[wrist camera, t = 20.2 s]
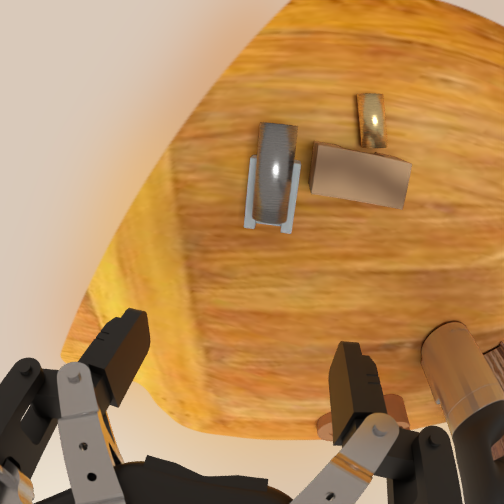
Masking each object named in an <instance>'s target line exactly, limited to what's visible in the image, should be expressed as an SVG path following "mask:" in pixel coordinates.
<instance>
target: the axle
mask: <svg viewBox="0 0 504 504" xmlns="http://www.w3.org/2000/svg"><path fill="white" fill-rule="evenodd" d="M297 130H298V126H292V125H284V124H274V123H262V122H260V129H259V140H258V151H257V162H256V173H255V184H254V195H253V206H252V218H253V219H254V220H256V221H259V222H262V223H268V224H282V223H285V222H287V217H288V209H289V201H290V193H291V184H292V176H293V167H294V158H295V149H296V140H297Z"/></svg>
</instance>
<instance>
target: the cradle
mask: <svg viewBox="0 0 504 504" xmlns="http://www.w3.org/2000/svg"><path fill="white" fill-rule="evenodd" d="M256 162H257V155H253V156H252V157H251V158H250V166H249V177H248V187H247V198H246V209H245V220H244V228H251V229H254V228H255V225H256V223H259V224H267V225H275V226H281V233H289V234H291V231H292V225H293V218H294V211H295V204H296V197H297V190H298V183H299V176H300V168H301V162H300V161H299V160H294V167H293V176H292V184H291V193H290V201H289V209H288V217H287V222H285V223H282V224H268V223H262V222H259V221H256V220H254V219H253V218H252V206H253V195H254V184H255V173H256Z"/></svg>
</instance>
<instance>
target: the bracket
mask: <svg viewBox="0 0 504 504" xmlns="http://www.w3.org/2000/svg"><path fill="white" fill-rule="evenodd" d="M383 396H384V400H385V405H386V409H387V413H388V415H389V416H391V417H392V418H394V419H395V421H396V422H397V424H398V426H399V427H400V428H403V429H406V430H410V429H409V426H410V424H409V421H408V417H407V413H406V409H405V406H404V402H403V399H402V397H401V396H399V395H395V394H389V395H383ZM317 433H318V436H319V437H320V438H321V439H323V440H326V441H333V432H332V417H331V412H329V413H327V414H325V415H323V416H322V417H320V418H319V420H318V422H317Z"/></svg>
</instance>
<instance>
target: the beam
mask: <svg viewBox="0 0 504 504" xmlns="http://www.w3.org/2000/svg"><path fill="white" fill-rule="evenodd" d="M411 167H412V164H411V163H409V162H406V161H404V160H402V159H399V158H397V157H393V156H389V155H385V154H380V153H376V152H375V155H374V154H369V153H364V152H359V151H354V150H349V149H344V148H342V147H340V146H338V145H335V144H329V143H323V142H316V141H314V146H313V153H312V161H311V168H310V175H309V182H308V184H309V187H310V190H311V194H316V195H322V196H329V197H335V198H341V199H347V200H353V201H359V202H365V203H370V204H376V205H381V206H386V207H392V208H397V209H403V205H404V201H405V196H406V192H407V187H408V182H409V178H410V173H411Z"/></svg>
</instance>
